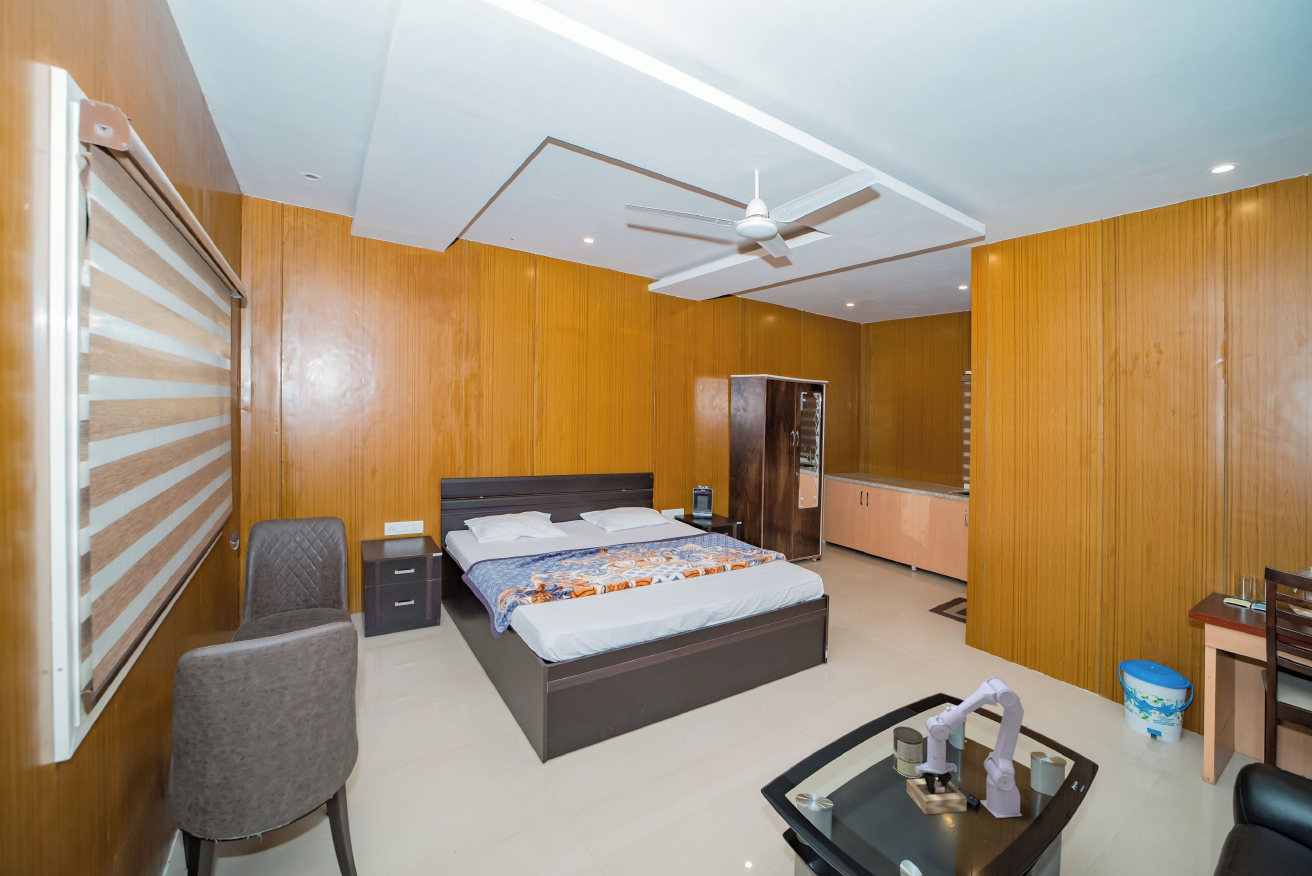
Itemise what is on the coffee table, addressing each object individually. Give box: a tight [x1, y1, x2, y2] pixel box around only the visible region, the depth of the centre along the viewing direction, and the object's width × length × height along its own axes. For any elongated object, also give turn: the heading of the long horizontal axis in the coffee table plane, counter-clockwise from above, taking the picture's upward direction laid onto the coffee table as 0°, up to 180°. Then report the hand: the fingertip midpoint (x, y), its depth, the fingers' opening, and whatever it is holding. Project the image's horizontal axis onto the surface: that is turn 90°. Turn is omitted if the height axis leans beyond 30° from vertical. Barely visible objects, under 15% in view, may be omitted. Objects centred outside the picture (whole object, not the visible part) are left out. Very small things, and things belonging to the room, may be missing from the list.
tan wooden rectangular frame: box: [906, 776, 968, 815], centre depth 185 cm, size 15×11×4 cm
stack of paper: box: [928, 779, 945, 795], centre depth 185 cm, size 3×4×7 cm
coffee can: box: [892, 726, 924, 779], centre depth 202 cm, size 10×10×14 cm
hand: (935, 792), depth 185 cm, fingers closed on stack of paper, 3 cm apart
